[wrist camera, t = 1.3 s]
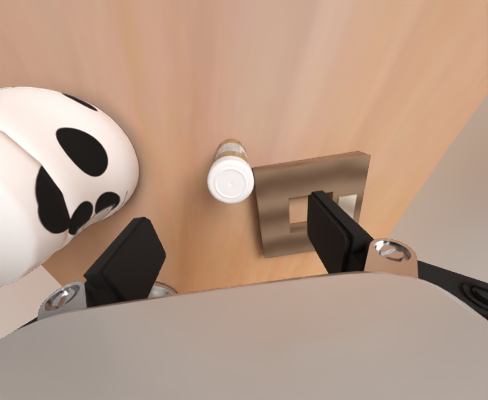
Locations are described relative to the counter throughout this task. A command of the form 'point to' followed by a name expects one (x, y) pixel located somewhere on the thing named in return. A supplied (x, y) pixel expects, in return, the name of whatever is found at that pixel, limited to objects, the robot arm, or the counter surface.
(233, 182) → the sprinkles bottle
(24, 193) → the milk container
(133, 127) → the counter surface
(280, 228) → the socket board
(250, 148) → the counter surface
